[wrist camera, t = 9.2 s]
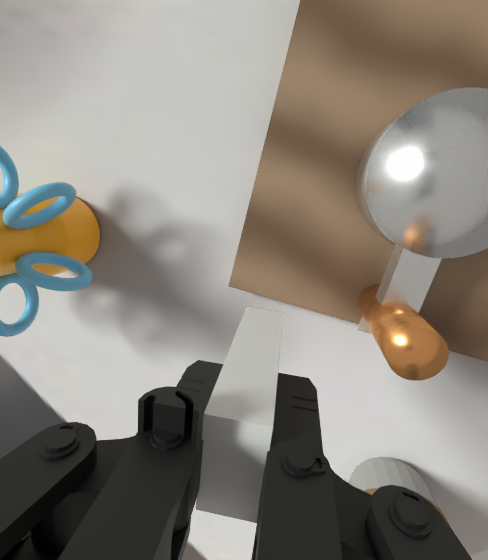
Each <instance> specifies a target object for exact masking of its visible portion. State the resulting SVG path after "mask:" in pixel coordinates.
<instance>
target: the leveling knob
mask: <svg viewBox="0 0 488 560" xmlns="http://www.w3.org/2000/svg"><path fill="white" fill-rule="evenodd" d="M355 192H356V199H357V203H358V206H359V209H360V211H361V214H362V216H363V217H364V219H365V220H366V222H367V223H368V224H369V226H370V227H371V228H372V229H373V230H374V231H375V232H376V233H378V234H379V235H381V236H382V237H384V238H385V239H387V240H389V241H391V242H393V243H395V247H394V250H393V252H392V255H391V257H390V260H389V263H388V265H387V268H386V270H385V273H384V276H383V278H382V281H381V283H379V284H373V285H370V286H368V287H366V288H365V289H364V290H363V291H362V292H361V294H360V296H359V298H358V308H359V310H360V312H361V314H362V316H363V318H364V320H365V321H366V323H367V325H368V327H369V329H370V331H371V332H372V334H373V336H374V338H375V340H376V342H377V344H378V345H379V347H380V349H381V351H382V353H383V355H384V357H385V358H386V360H387V362H388V364H389V366H390V367H391V369H392V370H393V371H394V372H395V373H396V374H397V375H399V376H400V377H402V378H405V379H408V380H424V379H428V378H431V377H433V376H434V375H436V374H437V373H439V372H440V371H441V370H442V369H443V367H444V366H445V364H446V362H447V360H448V354H449V352H448V346H447V344H446V342H445V340H444V339H443V338H442V336H441V335H440V334H439V333H438V332H437V331H435V330H434V329H433V328H432V327H431V326H430V325H429V324H428V323H427V322H426V321H425V320H424V319H423V318H422V317H421V316H420V315H419V314H418V313H419V311H420V308H421V306H422V304H423V301H424V299H425V297H426V294H427V292H428V290H429V287H430V285H431V283H432V280H433V278H434V276H435V273H436V271H437V269H438V266H439V264H440V262H441V259H442V258H457V257H463V256H467V255H471V254H474V253H477V252H480V251H482V250H485V249H487V248H488V89H485V88H475V87H466V88H458V89H452V90H448V91H444V92H441V93H438V94H436V95H433V96H430V97H428V98H427V99H425V100H423V101H421V102H419V103H418V104H416V105H415V106H413V107H412V108H410V109H409V110H407V111H406V112H405V113H403V114H402V115H401V116H399V117H398V118H396V119H395V120H394V121H392V122H391V123H390V124H388V125H387V126H386V127H384V128H383V129H382V130H381V131H380V132H379V133H378V134H377V135H376V136H375V137H374V138H373V140H372V141H371V142H370V144H369V145H368V147H367V148H366V150H365V152H364V154H363V155H362V158H361V160H360V163H359V166H358V170H357V174H356V181H355Z"/></svg>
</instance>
